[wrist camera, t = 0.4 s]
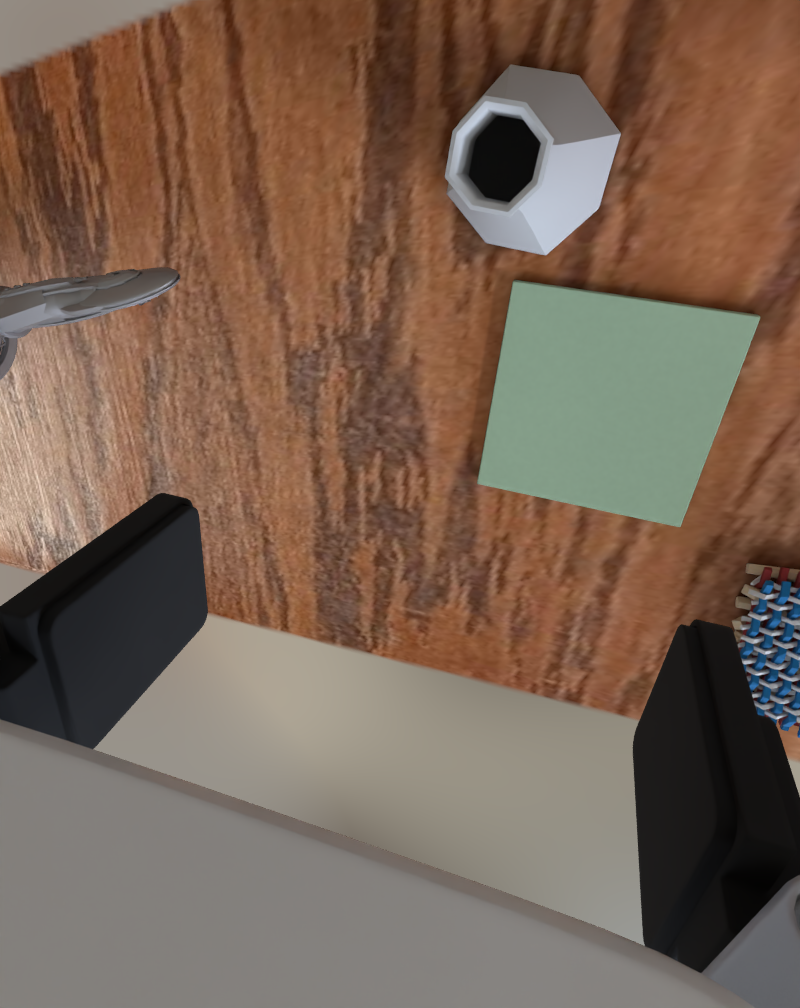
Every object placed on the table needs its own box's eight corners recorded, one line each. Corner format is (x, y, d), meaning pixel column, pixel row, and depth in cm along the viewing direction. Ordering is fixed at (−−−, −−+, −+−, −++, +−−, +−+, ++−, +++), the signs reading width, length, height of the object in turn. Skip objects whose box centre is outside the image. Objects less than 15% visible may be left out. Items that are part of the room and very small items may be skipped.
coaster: (514, 279, 29) (512, 280, 29) (758, 314, 27) (761, 316, 27) (478, 480, 35) (477, 484, 34) (679, 523, 32) (680, 527, 32)
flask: (504, 29, 25) (455, -48, 16) (653, 122, 25) (680, 92, 16) (422, 202, 29) (348, 211, 20) (551, 282, 29) (530, 325, 20)
